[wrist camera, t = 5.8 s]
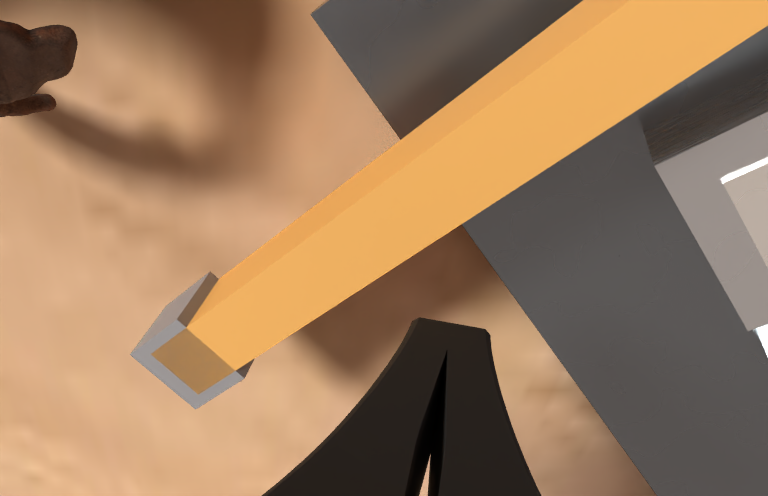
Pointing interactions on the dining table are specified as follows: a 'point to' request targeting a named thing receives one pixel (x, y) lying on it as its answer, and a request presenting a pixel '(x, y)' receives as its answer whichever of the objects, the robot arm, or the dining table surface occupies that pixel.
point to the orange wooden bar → (441, 178)
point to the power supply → (724, 187)
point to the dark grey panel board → (594, 243)
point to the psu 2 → (765, 345)
